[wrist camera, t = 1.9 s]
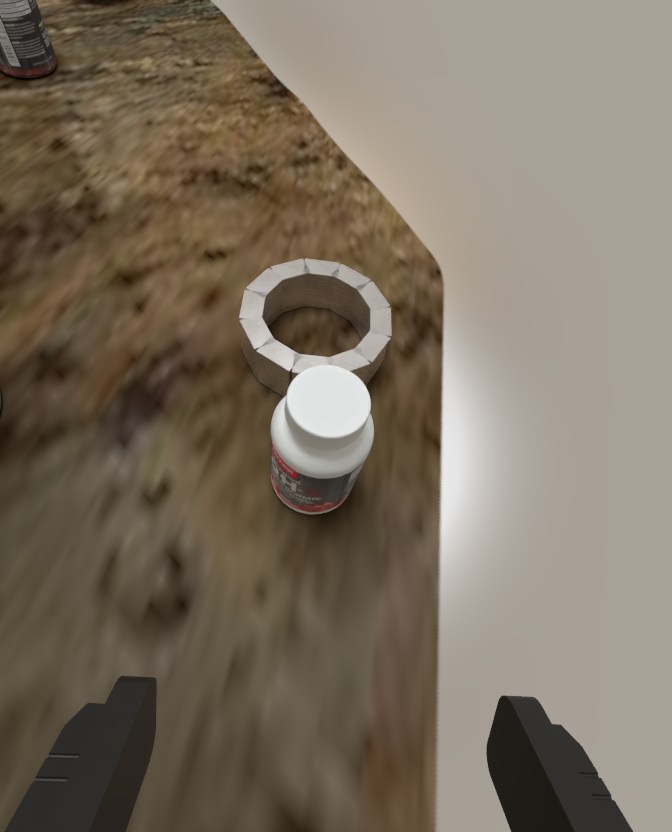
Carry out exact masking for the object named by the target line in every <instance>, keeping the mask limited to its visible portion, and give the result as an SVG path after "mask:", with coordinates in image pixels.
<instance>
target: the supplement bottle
mask: <svg viewBox="0 0 672 832" xmlns="http://www.w3.org/2000/svg"><path fill="white" fill-rule="evenodd" d="M56 64H57V60H56V57H55V54H54V50H53V47H52V44H51V42H50V39H49V36H48V33H47V31H46V28H45V25H44V22H43V19H42V16H41V14H40V10H39V8H38V5H37V2H36V0H0V70H1V71H3V72H4V73H6V74H9V75H11V76H15V77H20V78H35V77H40V76H44V75H47V74H49V73H50V72H51V71H52V70H54V68H55V67H56Z"/></svg>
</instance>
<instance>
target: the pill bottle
mask: <svg viewBox="0 0 672 832" xmlns="http://www.w3.org/2000/svg"><path fill="white" fill-rule="evenodd" d="M370 409H371V400H370V395H369V392H368V390H367V388H366V386H365V385H364V383H363V382H362V381H361V380H360V379H359V378H358V377H357V376H356V375H355V374H353V373H352V372H350V371H348V370H346V369H344V368H341V367H338V366H333V365H319V366H314V367H311V368H308V369H306V370H304V371H302V372H301V373H299V374H298V375H297V376H296V377H295V378H294V379H293V381H292V382H291V384H290V386H289V388H288V391H287V395H286V396H285V397H284V398H283V399H282V400H281V401H280V403H279V404H278V405H277V407H276V409H275V412H274V414H273V417H272V422H271V481H272V485H273V487H274V490H275V492H276V494H277V496H278V497H279V498H280V500H281V501H282V502H283V503H284V504H286V505H287V506H288V507H290V508H291V509H293V510H295V511H298V512H301V513H305V514H322V513H326V512H329V511H331V510H333V509H335V508H337V507H338V506H339V505H340V504H342V503H343V501H344V500H345V499H346V498H347V497H348V495H349V493H350V491H351V490H352V487H353V485H354V483H355V481H356V479H357V477H358V475H359V472H360V470H361V468H362V466H363V464H364V462H365V460H366V458H367V456H368V454H369V452H370V450H371V447H372V443H373V438H374V425H373V420H372V417H371V414H370Z"/></svg>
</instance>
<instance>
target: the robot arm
mask: <svg viewBox="0 0 672 832" xmlns="http://www.w3.org/2000/svg"><path fill="white" fill-rule="evenodd" d="M0 409H1V392H0ZM155 732H156V678H152V677H131V676H121V677H119V679H118V680H117V682H116V683H115V685H114V687H113V689H112V691H111V693H110V695H109V697H108V699H107V701H106V703H105V704H97V703H87V704H86V705H85V706H84V707H83V708H82V709H81V710H80V711H79V712H78V713H77V714H76V715H75V716H74V717H73V718H72V719H71V720H70V721H69V722H68V723H67V724H66V725H65V726H64V728H63V729H62V731H61V733H60V735H59V737H58V738H57V740H56V742H55V744H54V745H53V747H52V749H51V751H50V752H49V756H48V758H46V759H45V761H44V763H43V765H42V766H41V768H40V770H39V772H38V774H37V775H36V779H35V781H34V782H32V784H31V786H30V788H29V789H28V791H27V793H26V795H25V796H24V798H23V800H22V802H21V803H20V805H19V807H18V809H17V811H16V812H15V814H14V816H13V818H12V819H11V821H10V823H9V825H8V826H7V828H6V830H5V832H125V831H126V829H127V826H128V823H129V820H130V817H131V814H132V811H133V808H134V805H135V802H136V799H137V796H138V794H139V791H140V788H141V785H142V782H143V779H144V776H145V773H146V770H147V767H148V764H149V761H150V758H151V754H152V750H153V745H154V739H155ZM487 762H488V768H489V772H490V775H491V778H492V781H493V783H494V786H495V789H496V792H497V795H498V797H499V800H500V803H501V805H502V808H503V811H504V813H505V816H506V819H507V821H508V824H509V827H510V829H511V832H633V831H632V829H631V827H630V826H629V824H628V823H627V821H626V819H625V817H624V816H623V814H622V812H621V811H620V809H619V807H618V806H617V804H616V802H615V801H613V800H612V799H611V794H610V792H609V791H608V789H607V787H606V786H605V784H604V782H603V781H602V779H601V778H599V777H598V772H597V771H596V769H595V767H594V766H593V764H592V762H591V761H590V759H589V757H588V756H587V754H586V752H585V751H584V749H583V747H582V746H581V745H580V744H579V743H578V742H577V741H576V740H575V739H574V738H573V737H572V736H571V735H570V734H569V733H568V732H567V731H566V730H565V729H564V728H563V727H562V726H561V725H555V724H551V722H550V720H549V718H548V717H547V715H546V713H545V711H544V709H543V708H542V706H541V704H540V703H539V702H538V700H537V699H536V698H534V697H522V696H501V698H500V699H499V701H498V705H497V709H496V712H495V716H494V720H493V724H492V728H491V731H490V735H489V738H488V742H487Z"/></svg>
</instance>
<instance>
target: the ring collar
mask: <svg viewBox="0 0 672 832" xmlns="http://www.w3.org/2000/svg"><path fill="white" fill-rule="evenodd" d="M370 281H371V280H370V279H368V278H367V277H365V276H363V275H361V274H359V273H358V272H356V271H354V270H352V269H350V268H349V267H347V266H345V265H343V264H341V265H340V266H339V263H336V262H329V261H321V260H313V259H306V258H305V262H304V260H303V259H299V260H295V261H291V262H287V263H283V264H279V265H275V266H271V267H270V269H269V268H268V269H266V270H265V271H264V272H263V273H262V274H261V275H260V276H259V277H258V278H256V279H255V280H254V281H253V282H252V283H251V284H250V285H249V286H247V287H246V290H245V291H244V296H243V301H242V306H241V311H240V316H239V322H240V333H241V343H242V352H243V354H244V356H245V358H246V360H247V362H248V364H249V366H250V368H251V370H252V372H253V374H254V376H255V378H256V379H257V378H258V381H259V382H260V383H262V384H264V385H265V386H267V387H268V388H270V389H272V390H273V391H275V392H276V393H278V394H279V395H281V396H283V397H285V396H286V395H287V391H288V388H289V386H290V384H291V382H292V381H293V379H294V378H295V377H296V376H297V375H298V374H299V373H301V372H302V371H304V370H306V369H308V368H311V367H314V366H319V365H333V366H338V367H341V368H344V369H346V370H348V371H350V372H352V373H353V374H355V375H356V376H357V377H358V378H359V379H360V380H361V381H362V382H363V383H364V385H365V386H367V384H368V383H369V382H370V380H371V379H372V378H373V376H374V375H375V374H376V372H377V371H378V370H379V368H380V366H381V364H382V361H383V358H384V355H385V353H386V350H387V347H388V344H389V342H390V339H391V308H390V305H389V304H388V302H387V301H386V299H385V298H384V297H383V295H382V294H381V292H380V291H379V290H378V288H377V287H376V285H375V284H374V283H373V281H372V282H370ZM303 306H308V307H316V308H324V309H330V310H332V311H333V312H335V313H337V314H339V315H340V316H342V317H344V318H345V319H347V320H349V321H350V322H351V323H352V325H353V327H354V328H355V330H356V331H357V333H358V334H359V336H360V337H361V339H362V341H361V342H360V343H359V345H358V346H357V347H356V348H355V349H352V350H349V351H346V352H343V353H340V354H338V355H335V356H332V357H321V356H312V355H304V354H298V353H296V352H295V351H293V350H291V349H290V348H288V347H286V346H285V345H283V344H281V343H280V342H278V341H277V340H275V339H274V338H273V336H272V335H271V333H270V331H269V329H268V326H269V325H270V324H271V323H272V322H273V321H274V320H275V319H276V318H277V317H278V316H279V315H280V314H281V313H283V312H286V311H289V310H293V309H296V308H300V307H303Z"/></svg>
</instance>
